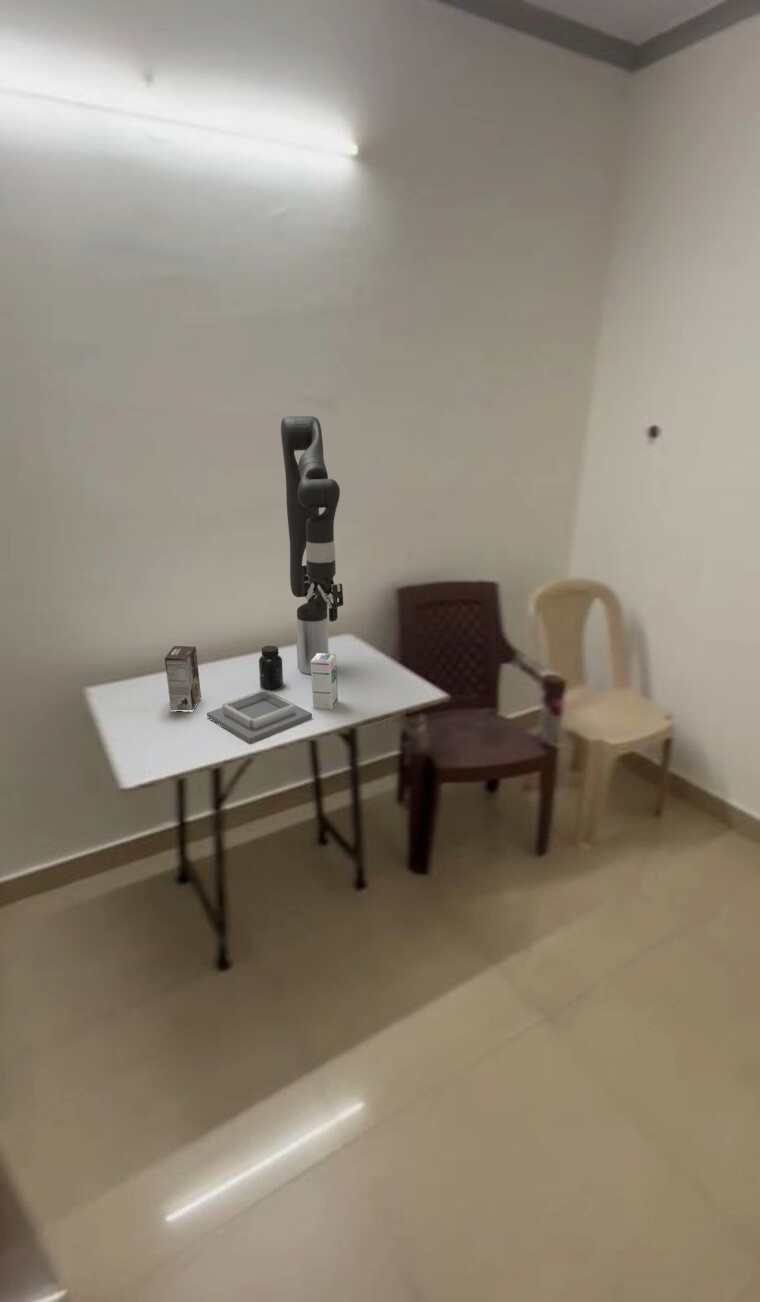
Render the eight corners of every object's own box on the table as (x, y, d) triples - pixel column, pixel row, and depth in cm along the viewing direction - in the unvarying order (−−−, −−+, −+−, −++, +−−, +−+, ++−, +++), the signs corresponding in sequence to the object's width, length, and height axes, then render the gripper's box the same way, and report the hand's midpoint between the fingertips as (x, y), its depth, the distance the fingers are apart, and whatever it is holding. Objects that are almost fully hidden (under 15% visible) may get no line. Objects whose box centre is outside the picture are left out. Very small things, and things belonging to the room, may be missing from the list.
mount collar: (221, 712, 195) (220, 704, 195) (265, 696, 205) (265, 688, 204) (252, 730, 186) (251, 722, 185) (297, 713, 195) (296, 704, 194)
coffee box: (179, 698, 208) (173, 645, 202) (202, 698, 208) (196, 645, 202) (170, 712, 199) (163, 657, 193) (193, 712, 199) (187, 657, 193)
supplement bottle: (256, 688, 214) (253, 650, 209) (267, 679, 220) (264, 642, 215) (276, 692, 211) (274, 653, 207) (287, 683, 217) (285, 645, 213)
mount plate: (207, 717, 196) (206, 712, 196) (268, 695, 209) (267, 691, 208) (250, 743, 183) (249, 738, 182) (312, 718, 196) (311, 713, 195)
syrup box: (332, 710, 200) (331, 661, 195) (312, 708, 201) (310, 659, 196) (338, 701, 205) (336, 653, 200) (318, 699, 207) (316, 652, 201)
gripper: (292, 555, 190) (295, 614, 196) (327, 565, 181) (329, 626, 187) (314, 550, 195) (316, 608, 201) (350, 560, 186) (351, 620, 192)
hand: (322, 617), depth 194 cm, fingers open, 8 cm apart
